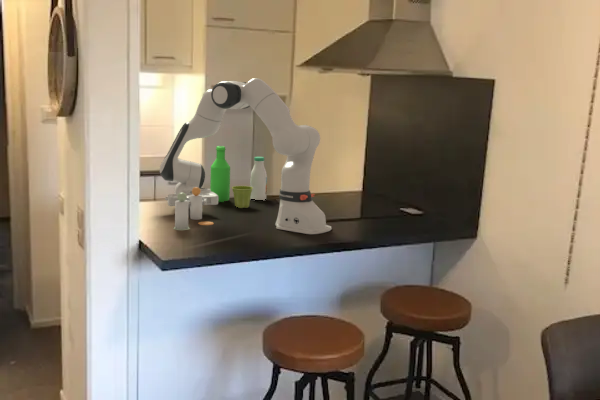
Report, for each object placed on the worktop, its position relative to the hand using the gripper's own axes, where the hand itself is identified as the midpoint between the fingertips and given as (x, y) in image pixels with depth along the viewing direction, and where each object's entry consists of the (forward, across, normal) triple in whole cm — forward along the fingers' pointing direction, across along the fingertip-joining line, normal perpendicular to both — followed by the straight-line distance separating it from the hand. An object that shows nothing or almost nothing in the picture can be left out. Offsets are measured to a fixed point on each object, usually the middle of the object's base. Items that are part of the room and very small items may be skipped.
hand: (196, 203), depth 252 cm
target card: (+11, -3, +7) cm, 14 cm away
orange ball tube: (-1, 0, +7) cm, 7 cm away
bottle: (-38, +19, +7) cm, 43 cm away
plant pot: (-23, +25, +7) cm, 35 cm away
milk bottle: (-38, +37, +7) cm, 54 cm away
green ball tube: (+14, -8, +6) cm, 18 cm away
